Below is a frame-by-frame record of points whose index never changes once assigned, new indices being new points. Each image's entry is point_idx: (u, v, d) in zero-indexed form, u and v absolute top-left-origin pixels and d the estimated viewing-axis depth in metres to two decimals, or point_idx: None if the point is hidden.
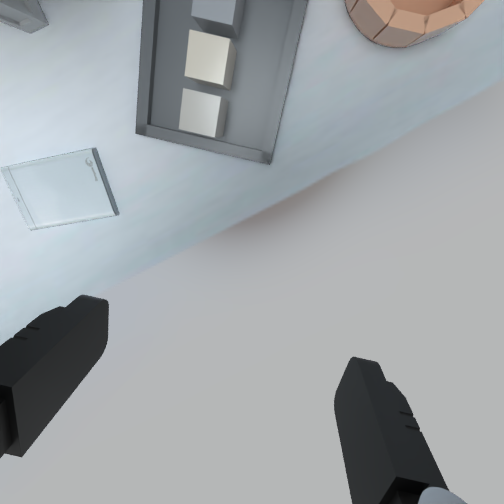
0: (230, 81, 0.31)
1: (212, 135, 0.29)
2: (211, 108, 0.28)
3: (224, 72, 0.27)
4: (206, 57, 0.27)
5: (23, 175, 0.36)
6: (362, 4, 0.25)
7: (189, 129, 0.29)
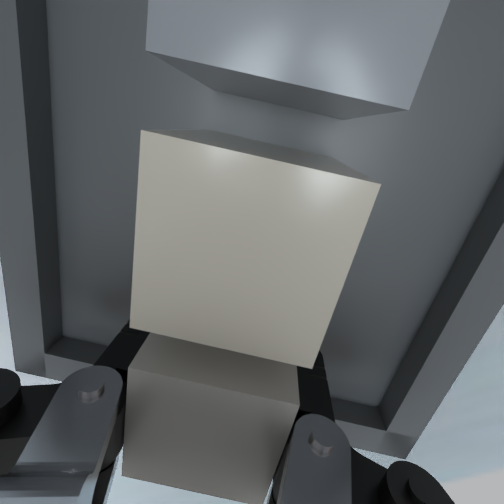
0: None
1: (253, 501, 0.07)
2: (254, 435, 0.07)
3: (324, 322, 0.05)
4: (234, 265, 0.05)
5: None
6: None
7: (163, 480, 0.07)
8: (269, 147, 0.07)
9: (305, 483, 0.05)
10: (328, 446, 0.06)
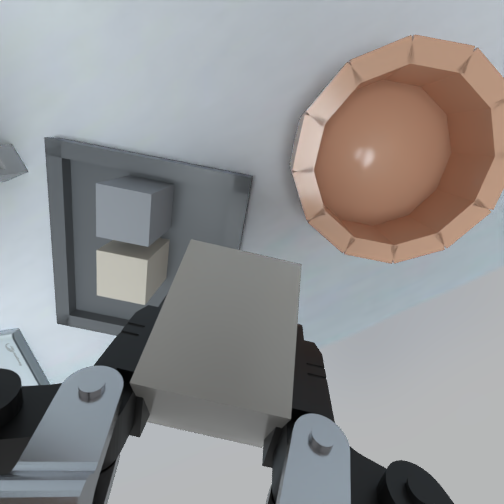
0: (163, 273, 0.25)
1: (254, 445, 0.09)
2: (250, 424, 0.07)
3: (145, 292, 0.22)
4: (120, 278, 0.21)
5: None
6: None
7: (180, 428, 0.09)
8: None
9: (304, 482, 0.05)
10: (327, 445, 0.06)
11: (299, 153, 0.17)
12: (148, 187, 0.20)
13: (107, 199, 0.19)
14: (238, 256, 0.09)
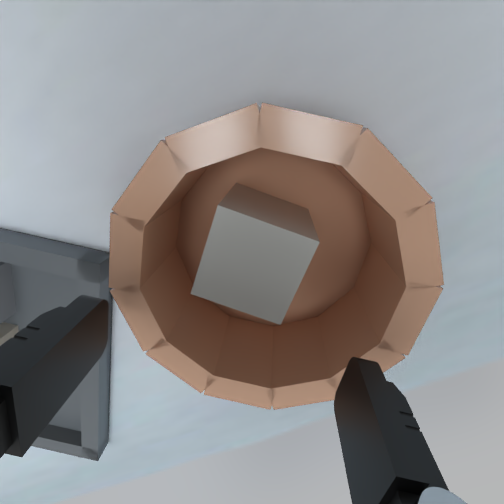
0: None
1: (275, 320, 0.11)
2: (286, 264, 0.10)
3: None
4: None
5: None
6: None
7: (218, 299, 0.11)
8: None
9: None
10: None
11: (114, 265, 0.11)
12: None
13: None
14: (268, 195, 0.14)
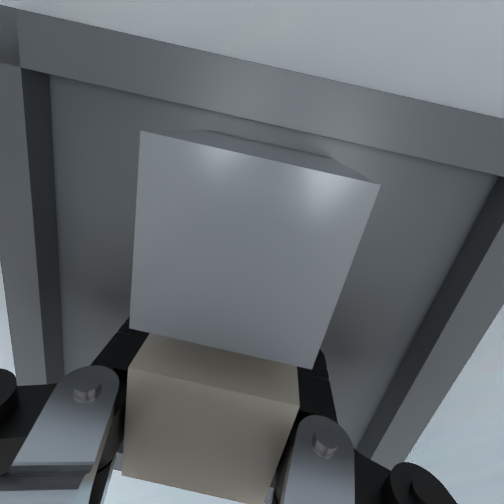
0: None
1: None
2: None
3: (269, 477, 0.07)
4: (199, 443, 0.07)
5: None
6: None
7: None
8: None
9: (308, 484, 0.05)
10: (331, 447, 0.06)
11: None
12: (312, 160, 0.06)
13: (183, 199, 0.05)
14: None
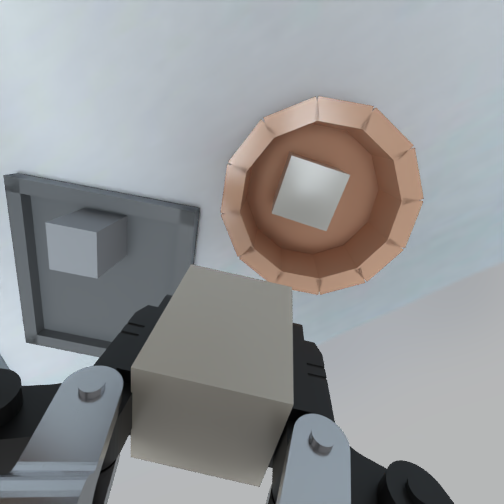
0: None
1: (323, 228, 0.19)
2: (330, 190, 0.18)
3: None
4: (199, 433, 0.07)
5: None
6: None
7: (288, 215, 0.19)
8: (233, 310, 0.09)
9: (304, 482, 0.05)
10: (327, 445, 0.06)
11: (225, 197, 0.19)
12: (97, 223, 0.22)
13: (56, 236, 0.21)
14: None
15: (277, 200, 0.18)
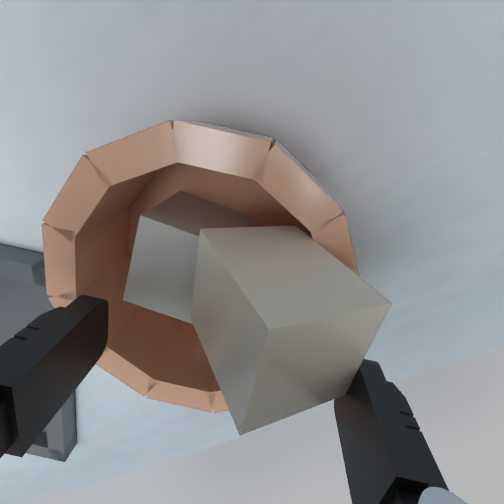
0: None
1: None
2: None
3: None
4: (314, 369, 0.08)
5: None
6: None
7: (149, 305, 0.12)
8: (281, 255, 0.09)
9: None
10: None
11: (50, 274, 0.12)
12: None
13: None
14: (211, 203, 0.14)
15: (128, 282, 0.11)
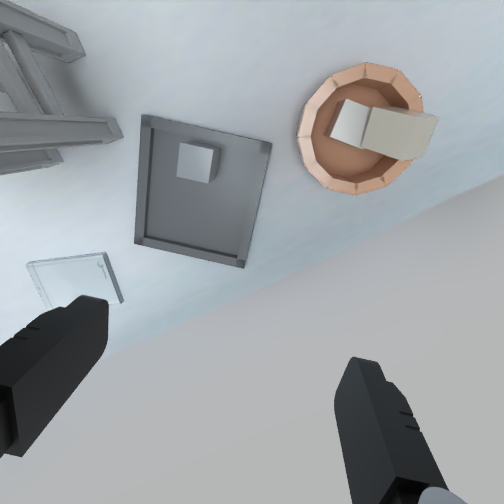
0: None
1: (361, 147, 0.30)
2: (368, 121, 0.29)
3: (425, 146, 0.28)
4: (420, 138, 0.27)
5: (44, 270, 0.44)
6: None
7: (340, 138, 0.30)
8: (402, 110, 0.27)
9: None
10: None
11: (302, 126, 0.30)
12: (208, 147, 0.33)
13: (185, 152, 0.32)
14: None
15: (334, 128, 0.30)
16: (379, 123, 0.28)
